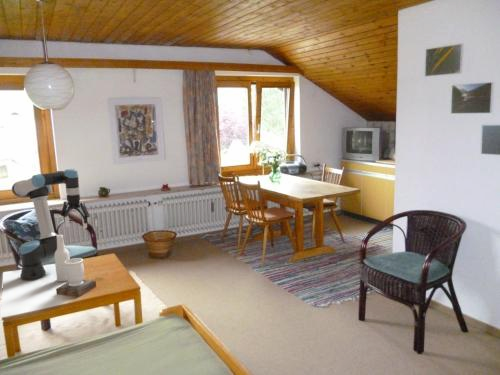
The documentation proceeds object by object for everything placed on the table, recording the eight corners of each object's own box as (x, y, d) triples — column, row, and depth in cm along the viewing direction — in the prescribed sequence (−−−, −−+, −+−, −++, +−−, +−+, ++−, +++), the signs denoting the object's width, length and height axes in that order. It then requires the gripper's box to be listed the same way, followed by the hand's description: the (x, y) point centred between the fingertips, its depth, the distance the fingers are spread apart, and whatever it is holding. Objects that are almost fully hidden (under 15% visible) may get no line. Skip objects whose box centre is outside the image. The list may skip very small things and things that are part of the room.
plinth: (56, 294, 258) (56, 288, 257) (74, 284, 273) (74, 278, 272) (79, 297, 253) (78, 290, 253) (96, 286, 268) (95, 280, 268)
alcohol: (54, 280, 279) (49, 236, 274) (65, 276, 287) (60, 232, 282) (63, 283, 275) (58, 237, 270) (74, 278, 283) (70, 234, 278)
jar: (89, 281, 266) (86, 258, 263) (77, 288, 256) (74, 264, 253) (75, 280, 269) (72, 257, 266) (62, 286, 259) (60, 262, 257)
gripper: (52, 194, 266) (55, 227, 270) (85, 196, 258) (88, 230, 262) (61, 192, 273) (64, 224, 277) (93, 194, 265) (96, 227, 269)
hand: (76, 227), depth 269 cm, fingers open, 13 cm apart
